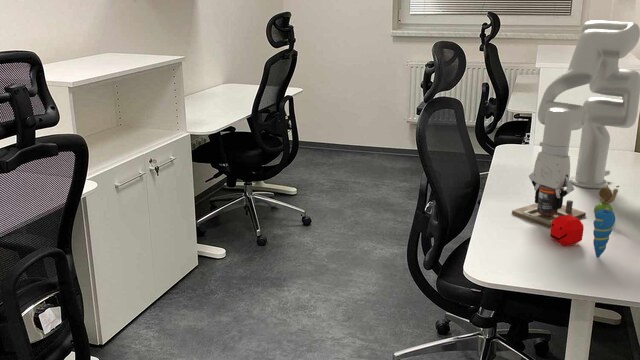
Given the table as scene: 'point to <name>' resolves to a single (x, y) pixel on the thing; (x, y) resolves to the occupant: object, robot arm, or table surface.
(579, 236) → the ball
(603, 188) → the snail figurine
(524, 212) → the pin board
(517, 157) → the table surface
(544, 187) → the supplement bottle
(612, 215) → the ornament
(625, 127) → the robot arm
